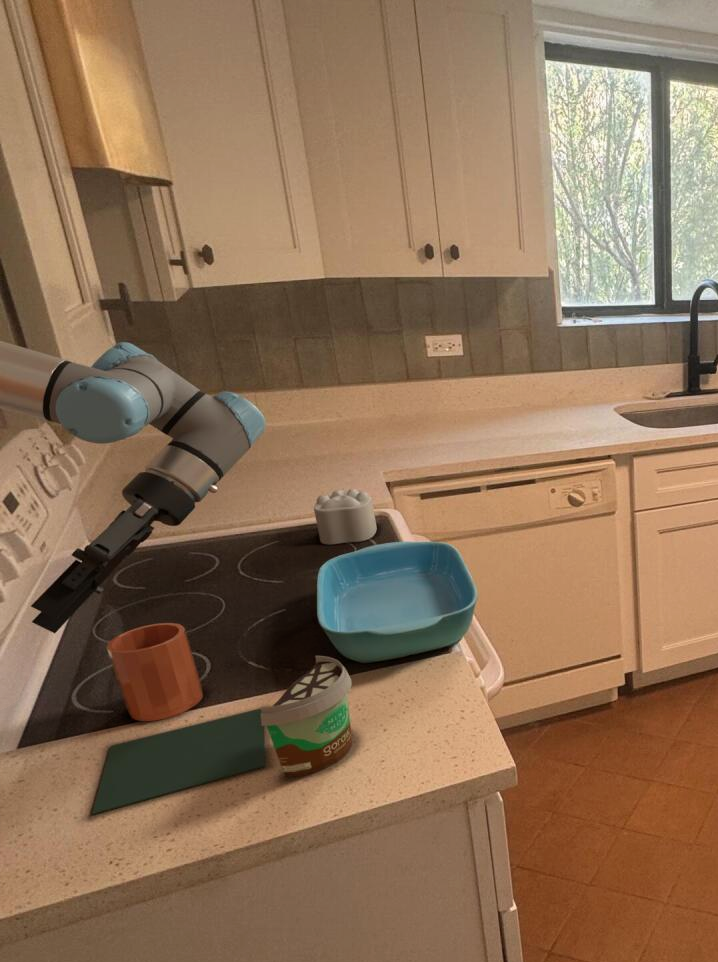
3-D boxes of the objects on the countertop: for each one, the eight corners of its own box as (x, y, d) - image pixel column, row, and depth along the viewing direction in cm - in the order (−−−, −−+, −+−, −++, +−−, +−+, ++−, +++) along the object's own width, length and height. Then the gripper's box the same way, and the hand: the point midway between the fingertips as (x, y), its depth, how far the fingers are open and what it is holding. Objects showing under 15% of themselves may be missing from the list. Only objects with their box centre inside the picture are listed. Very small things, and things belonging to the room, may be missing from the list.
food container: (331, 786, 88) (313, 710, 84) (277, 785, 88) (257, 709, 85) (381, 722, 100) (367, 653, 96) (333, 722, 100) (317, 653, 96)
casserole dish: (494, 652, 116) (489, 609, 114) (327, 690, 107) (316, 644, 104) (456, 567, 147) (451, 531, 144) (323, 590, 137) (315, 552, 135)
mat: (111, 747, 95) (110, 745, 95) (263, 709, 103) (263, 707, 102) (92, 815, 84) (91, 813, 84) (265, 766, 91) (264, 765, 91)
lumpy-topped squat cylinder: (316, 545, 157) (308, 505, 154) (327, 525, 169) (319, 486, 166) (373, 540, 160) (365, 499, 157) (380, 519, 172) (373, 482, 169)
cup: (133, 698, 105) (112, 632, 101) (204, 682, 109) (186, 617, 105) (125, 728, 99) (102, 658, 95) (201, 709, 102) (181, 642, 99)
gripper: (212, 480, 98) (80, 623, 87) (185, 524, 116) (73, 647, 105) (151, 442, 94) (6, 586, 83) (133, 494, 112) (11, 617, 101)
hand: (43, 620), depth 94 cm, fingers open, 13 cm apart
